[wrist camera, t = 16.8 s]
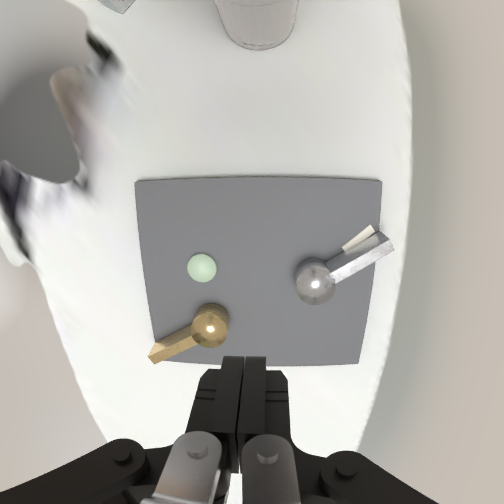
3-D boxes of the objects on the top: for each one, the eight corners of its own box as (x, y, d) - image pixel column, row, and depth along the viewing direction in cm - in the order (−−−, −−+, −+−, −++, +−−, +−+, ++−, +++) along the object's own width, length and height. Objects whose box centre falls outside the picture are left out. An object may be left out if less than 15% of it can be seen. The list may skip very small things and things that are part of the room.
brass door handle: (217, 297, 44) (212, 311, 41) (236, 323, 46) (233, 339, 42) (149, 334, 47) (140, 348, 43) (168, 357, 48) (161, 371, 45)
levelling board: (138, 181, 41) (132, 182, 39) (378, 180, 40) (384, 182, 37) (161, 355, 51) (157, 362, 48) (356, 358, 49) (359, 366, 47)
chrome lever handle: (304, 297, 44) (307, 311, 40) (287, 269, 42) (289, 281, 39) (388, 250, 41) (399, 260, 37) (374, 220, 40) (384, 227, 36)
